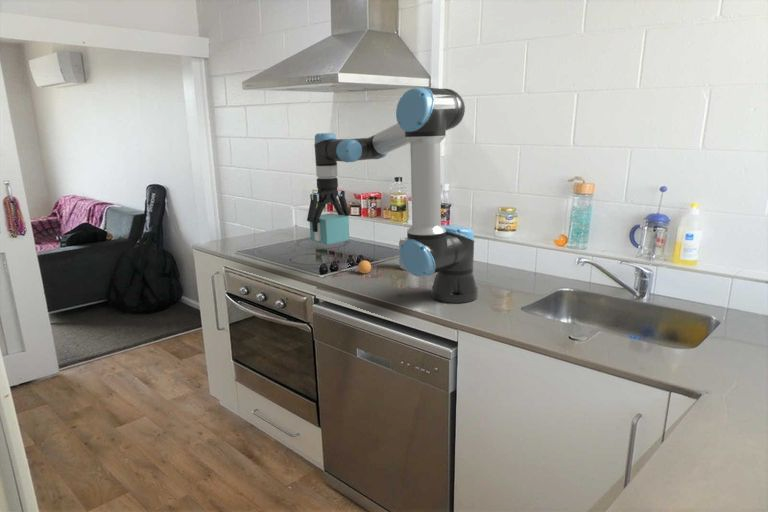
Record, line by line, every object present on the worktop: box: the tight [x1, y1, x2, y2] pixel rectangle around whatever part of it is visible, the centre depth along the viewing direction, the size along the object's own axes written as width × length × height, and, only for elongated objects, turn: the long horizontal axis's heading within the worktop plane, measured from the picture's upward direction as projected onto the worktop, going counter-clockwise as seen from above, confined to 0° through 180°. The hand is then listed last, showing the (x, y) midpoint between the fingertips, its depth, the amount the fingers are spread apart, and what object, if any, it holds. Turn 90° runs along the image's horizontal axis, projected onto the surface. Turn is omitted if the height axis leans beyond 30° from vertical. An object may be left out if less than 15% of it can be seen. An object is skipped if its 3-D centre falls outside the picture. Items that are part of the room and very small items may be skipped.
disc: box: [337, 262, 358, 272], centre depth 206 cm, size 12×12×1 cm
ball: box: [357, 259, 372, 275], centre depth 197 cm, size 5×5×5 cm
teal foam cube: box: [309, 212, 350, 246], centre depth 191 cm, size 10×10×9 cm
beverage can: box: [398, 236, 407, 271], centre depth 201 cm, size 6×6×12 cm
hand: (330, 237), depth 192 cm, fingers closed on teal foam cube, 10 cm apart
